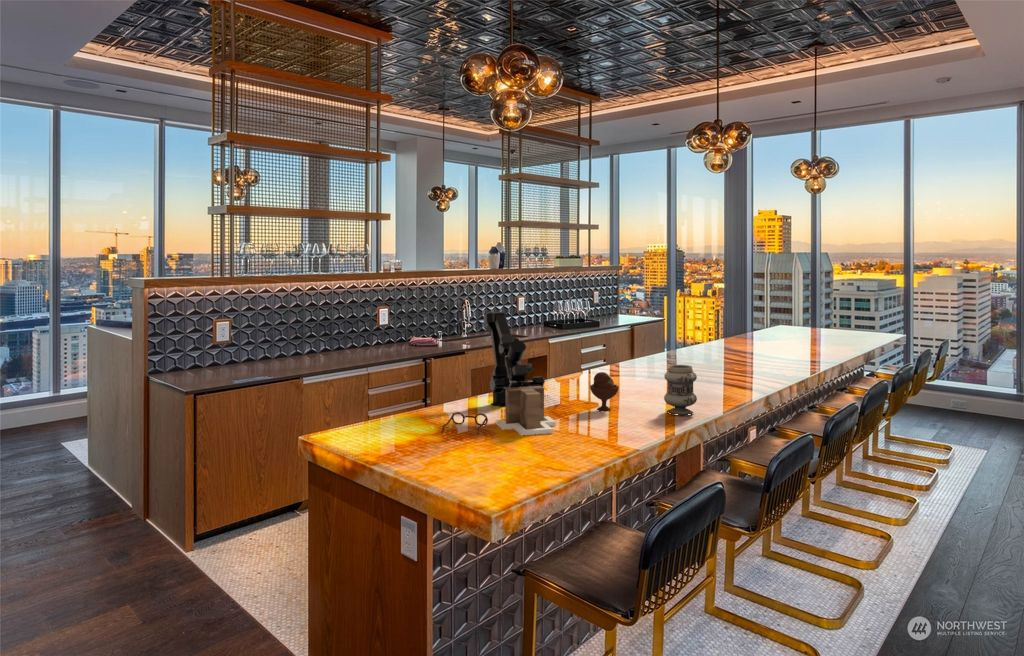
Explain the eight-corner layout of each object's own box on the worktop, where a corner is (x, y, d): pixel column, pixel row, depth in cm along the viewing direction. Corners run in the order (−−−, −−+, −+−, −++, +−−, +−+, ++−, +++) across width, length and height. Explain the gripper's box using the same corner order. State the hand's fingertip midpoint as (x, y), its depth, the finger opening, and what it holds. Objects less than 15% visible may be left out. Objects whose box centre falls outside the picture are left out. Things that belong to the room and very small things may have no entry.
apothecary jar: (670, 408, 255) (671, 362, 253) (701, 412, 248) (702, 365, 246) (658, 414, 245) (659, 366, 243) (689, 418, 238) (690, 369, 236)
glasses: (488, 426, 229) (488, 413, 229) (478, 436, 217) (478, 422, 216) (452, 425, 232) (452, 411, 232) (440, 434, 220) (440, 420, 219)
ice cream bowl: (618, 413, 245) (618, 374, 244) (588, 412, 248) (588, 373, 246) (619, 407, 256) (619, 369, 254) (590, 406, 258) (590, 369, 256)
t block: (505, 424, 231) (505, 388, 230) (540, 421, 235) (540, 385, 233) (515, 433, 219) (515, 395, 218) (552, 430, 222) (552, 393, 221)
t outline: (496, 424, 231) (496, 419, 231) (548, 420, 237) (548, 416, 236) (509, 436, 215) (509, 432, 215) (564, 432, 220) (564, 427, 220)
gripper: (493, 357, 234) (501, 393, 224) (543, 354, 239) (553, 390, 229) (488, 375, 242) (496, 410, 233) (536, 372, 247) (545, 407, 238)
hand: (523, 404), depth 233 cm, fingers closed, pressing on t block
